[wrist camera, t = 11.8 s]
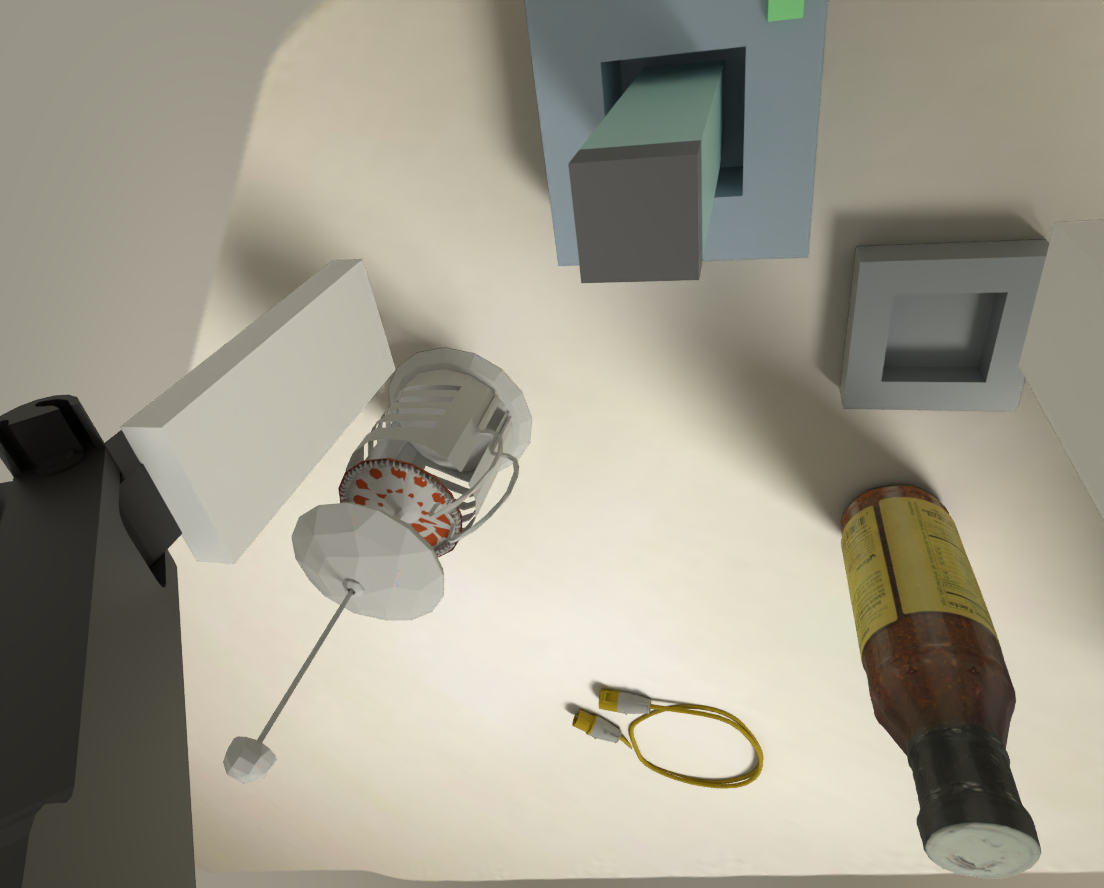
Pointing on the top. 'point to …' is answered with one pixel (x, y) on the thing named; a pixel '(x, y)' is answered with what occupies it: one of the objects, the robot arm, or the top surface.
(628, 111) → the plug
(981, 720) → the sauce bottle
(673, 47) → the port
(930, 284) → the holster
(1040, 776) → the top surface
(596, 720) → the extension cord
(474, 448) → the french press
